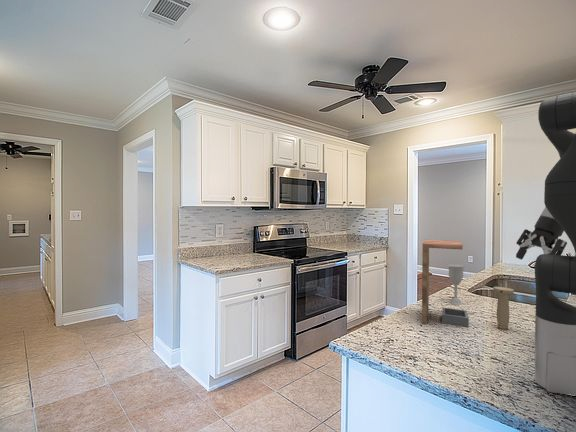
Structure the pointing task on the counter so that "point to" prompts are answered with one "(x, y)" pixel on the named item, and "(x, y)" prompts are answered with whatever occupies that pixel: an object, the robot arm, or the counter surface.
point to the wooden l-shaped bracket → (425, 269)
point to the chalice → (455, 280)
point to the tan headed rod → (503, 306)
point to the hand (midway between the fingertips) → (529, 262)
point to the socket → (455, 317)
